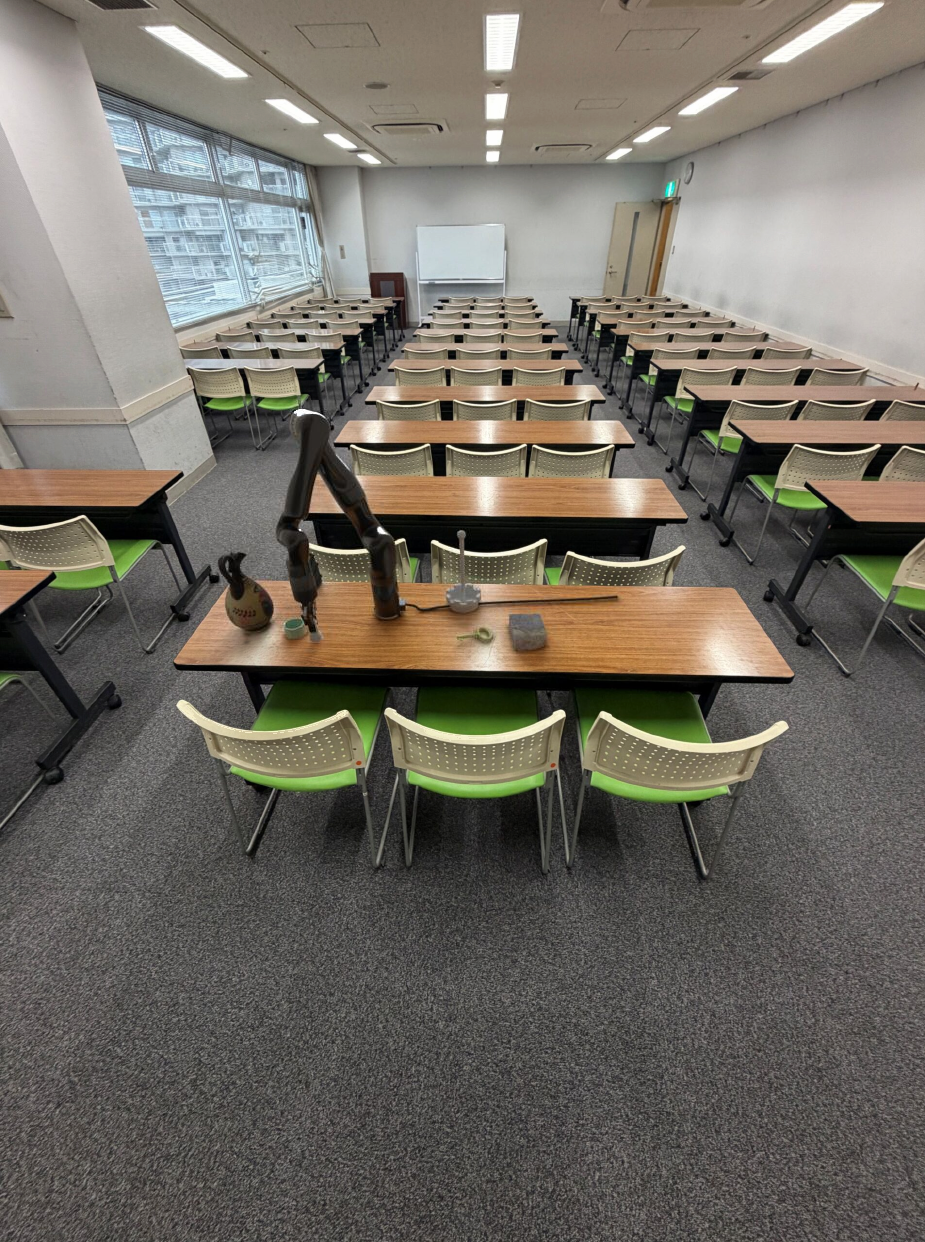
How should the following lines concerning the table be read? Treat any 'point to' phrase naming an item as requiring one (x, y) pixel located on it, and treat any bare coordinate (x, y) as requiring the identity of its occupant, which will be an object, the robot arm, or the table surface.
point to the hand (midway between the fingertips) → (313, 628)
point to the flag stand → (463, 587)
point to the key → (477, 635)
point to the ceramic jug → (245, 597)
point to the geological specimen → (527, 631)
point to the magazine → (315, 570)
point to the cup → (294, 628)
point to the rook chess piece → (315, 634)
